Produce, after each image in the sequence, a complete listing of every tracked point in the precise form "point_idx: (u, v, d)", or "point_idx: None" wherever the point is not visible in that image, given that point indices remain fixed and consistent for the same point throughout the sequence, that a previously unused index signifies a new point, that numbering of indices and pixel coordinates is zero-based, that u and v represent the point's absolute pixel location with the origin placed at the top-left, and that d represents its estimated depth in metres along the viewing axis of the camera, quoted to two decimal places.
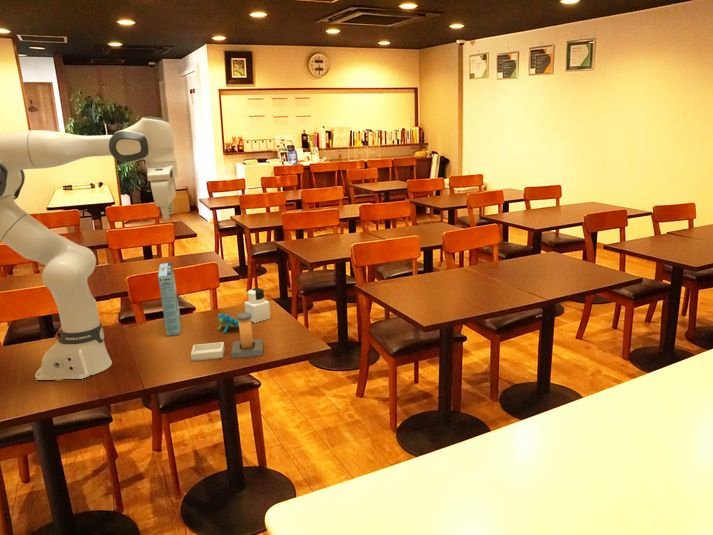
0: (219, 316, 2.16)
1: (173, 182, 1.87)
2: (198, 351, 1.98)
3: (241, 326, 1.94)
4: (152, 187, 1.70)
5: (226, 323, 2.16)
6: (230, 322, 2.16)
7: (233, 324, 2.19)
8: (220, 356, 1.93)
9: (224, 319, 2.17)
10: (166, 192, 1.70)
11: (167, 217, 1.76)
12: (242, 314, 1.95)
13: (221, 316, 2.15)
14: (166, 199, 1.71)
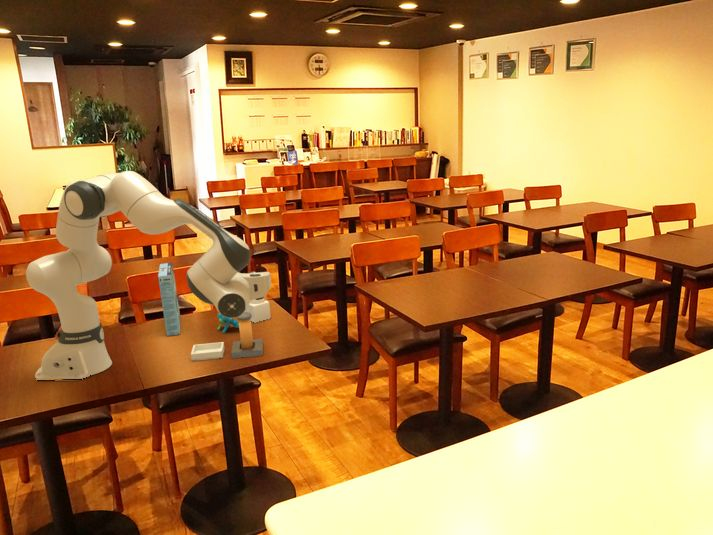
0: (218, 316, 2.16)
1: None
2: (198, 351, 1.98)
3: (241, 326, 1.94)
4: (269, 288, 1.70)
5: (225, 323, 2.16)
6: (229, 322, 2.16)
7: (232, 324, 2.19)
8: (220, 356, 1.93)
9: (223, 319, 2.17)
10: (269, 274, 1.71)
11: (255, 273, 1.78)
12: (242, 314, 1.95)
13: (220, 316, 2.15)
14: None
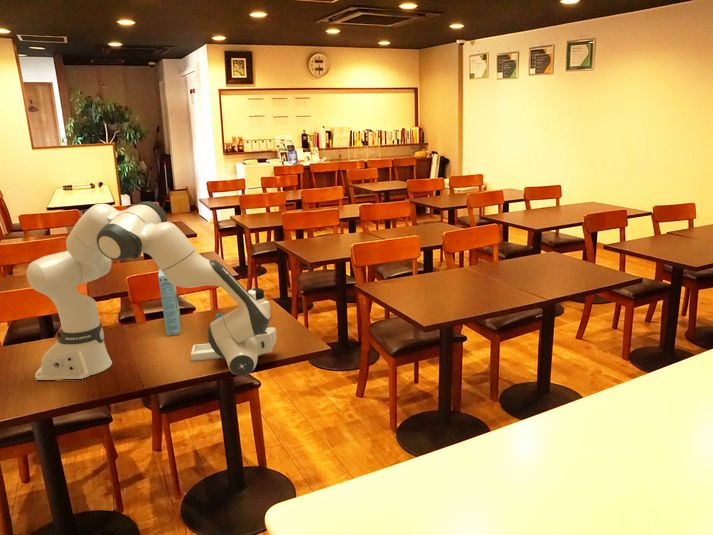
0: (217, 316, 2.16)
1: None
2: (198, 351, 1.98)
3: None
4: (274, 343, 1.89)
5: None
6: None
7: None
8: (220, 356, 1.93)
9: None
10: (274, 330, 1.89)
11: None
12: None
13: (219, 316, 2.15)
14: (275, 329, 1.91)
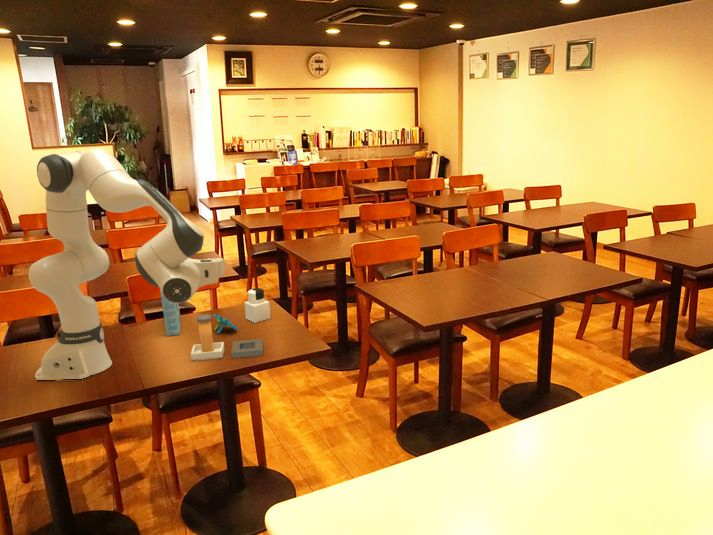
0: (215, 316, 2.16)
1: None
2: (198, 351, 1.98)
3: (200, 328, 1.92)
4: (221, 274, 1.68)
5: (221, 324, 2.15)
6: (224, 323, 2.15)
7: (229, 325, 2.18)
8: (220, 356, 1.93)
9: (220, 320, 2.17)
10: (222, 260, 1.69)
11: (209, 259, 1.76)
12: (202, 316, 1.93)
13: None
14: (223, 259, 1.71)
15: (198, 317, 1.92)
